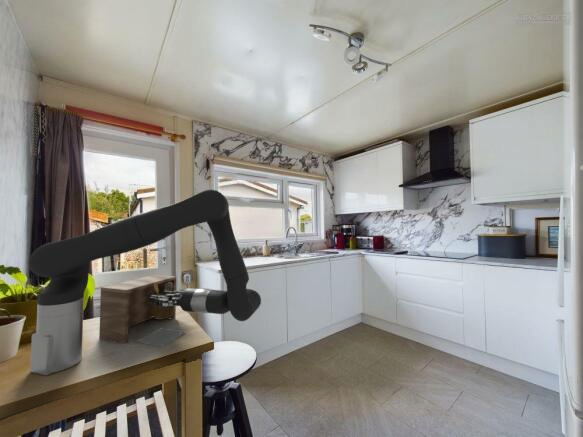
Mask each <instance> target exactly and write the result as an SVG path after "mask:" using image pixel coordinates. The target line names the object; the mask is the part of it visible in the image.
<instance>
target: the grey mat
mask: <svg viewBox="0 0 583 437" xmlns="http://www.w3.org/2000/svg"><path fill="white" fill-rule="evenodd" d="M185 334H186V331H184V330H177V329H171V328H165V327H161V328H159V329H157V330H154V332H151V333H149V334H148V335H145V336H143V337H141V338H140V339H138V340H137V343H141V344H145V345H146V344H147V345H149V346H151V345H152V346H157V347H164V346H166V345H168V344H170V343H171V342H173V341H174V340H176V339H178V338H180V337H181V336H183V335H185Z"/></svg>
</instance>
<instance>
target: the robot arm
mask: <svg viewBox="0 0 583 437" xmlns="http://www.w3.org/2000/svg"><path fill="white" fill-rule="evenodd" d="M229 207H230V204H229V201H228V199H227V198H226V196H225V195H224V194H222V193H221V192H220V191H218V190H216V189H206V190H203V191H202V190H201V191H200V192H198V193H196V194H194V195H192V196H189V197H187V198H185V199H183V200H180V201H178V202H175V203H172V204H170V205H165V206H162V207H158V208H155V209H150V210H147V211H144V212H140V213H138V214H135V215H134V214H133V215H131V216H129V217H126V218H125V217H124V218H123V219H120V220H117V221H115V222H112V223H110V224H107V225H105V226H101V227H100V228H97V229H95V230H92V231H90V232H88V233H84V234H81V235H78V236H74V237H70V238H65V239H62V240H57V241H53V242H48V243H44V244H43V245H40V246H39V247H38V248H36V249H35V250H34V251H33V252H32V253H31V255H30V256H29V258H28V268H29V270H30V271H31V272H32V273H33V274H34V275H37V276H39V277H42V278H50V280H49V283H48V284H47V285H46V286H45V287H44V288H43V289H41V291H40V292H39V293H38V295H37V303H36V304H37V306H36V309H37V310H36V311H37V312H36V331H35V333H32V334H31V344H30V345H31V347H30V349H31V350H30V372H31V373H35V374H39V375H42V376H48V375H51V374H53V373H57V372H61V371H63V370H67V369H69V368H71V367H73V366H75V365H77V364H78V363H80V361H81V360H82V359H83V337H84V336H83V334H84V332H83V330H84V301H85V291H86V290H87V286H88V283H89V274H90V266H91V265H90V264H91V263H90V262H93V261H96V260H99V259H104V258H107V257H112V256H117V255H121V254H124V253H129V252H132V251H135V250H138V249H143V248H144V247H148V246H151V245H153V244H155V243H157V242H159V241H162V240H164V239H166V238H168V237H170V236H172V235H173V234H175V233H176V232H179V231H180V230H183V229H185V228H189V227H191V226H197V225H199V224H203V223H206V224H207V225H208V227H209V229H210V232H211V234H212V237H213V240H214V243H215V249H216V254H217V258H218V263H219V267H220V269H221V272H222V276H223V279H224V282H225V284H226V285H225V286H226V290H221V289H211V288H205V287H187V288H186V289H178V290H176V291H171V292H170V291H164V292H163V294H167V293H168V294H167V295H166V296H157V295H151V296H150V302H151V303H155V306H156V307H160V308H164V309H168V308H169V306H176V307H180V308H181V310H182V311H184V312H189V313H197V314H215V315H224V314H227V313H229V312H230V314H231V316H232V317H233V318H234V319H235V320H236V321H238V322H245V321H247V320H249V319H250V318H251V317H252V316H253V315H254V314H255V313H256V311H257V310H258V309H259V308H260V306H261V304H262V298H261V295H260V293H259V292H257V291H256V290H254V289H250V288H247V285H248V283H249V280H250V277H249V273H248V268H247V266H246V264H245V261H244V258H243V255H242V253H241V251H240V247H239V245H238V242H237V240H236V237H235V234H234V230H233V225H232V222H231V221H232V220H231V215H230V209H229ZM165 292H166V293H165ZM169 293H170V294H169ZM169 297H170V301H169ZM163 298H165V299H163Z"/></svg>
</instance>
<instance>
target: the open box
mask: <svg viewBox="0 0 583 437" xmlns="http://www.w3.org/2000/svg"><path fill="white" fill-rule="evenodd" d="M168 282H170V284H169V283H168ZM153 283H154V284H155V283H157V286H158V289H159V292H158V294H159V295H160V294H163V292H164V291H168V290H169V291H170V290H171V291H177V276H176V275H175V276H172V275H163V274H152V275H149V276H148V275H147V276H143V277H139V278H135V279H132V280H131V279H130V280H127V281H122V282H118V283H113V284H108V285H104V286H100V300H99V301H100V302H99V304H100V306H99V334H98V335H99V336H98V339H99V340H103V341H109V342H114V343H120V344H124V345H125V344H127V343H128V341H129V340H128V339H129V338H128V335H129V328H130V327H133V326H136V325H138V324H140V323H142V322H145V321H147V320H149V319H151V318H154V303H151V302H150V296H151V295H157V292H156V291H155V288H154V284H153ZM166 283H168V284H166ZM172 285H173V286H172ZM157 286H156V287H157ZM166 286H167V287H166ZM168 286H169V287H168ZM171 287H172V288H171ZM165 289H166V290H165ZM176 307H177V306H174V312H173V315H172V316H171V317H169V318H168V319H167V320H173V319H174V320H176V316H177V314H176V310H177V309H176Z"/></svg>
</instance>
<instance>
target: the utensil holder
mask: <svg viewBox="0 0 583 437" xmlns="http://www.w3.org/2000/svg"><path fill="white" fill-rule="evenodd" d="M168 283H169V284H170V282H168ZM168 283H166V284H168ZM153 284H154V283H153ZM156 286H157V283H155V284H154V288H155V291H156V292H157V296H166V295H167V294H168V293H167V294H160V295H159V294H158V292H159V289H158V286H157V287H156ZM172 286H173V285H172ZM166 287H167V286H166ZM168 287H169V286H168ZM171 288H172V287H171ZM165 290H166V289H165ZM168 291H169V290H168ZM170 292H171V290H170ZM165 293H166V292H165ZM169 294H170V293H169ZM163 299H165V298H163ZM169 301H170V297H169ZM173 312H174V306H169V308H168V309H164V308H160V307H156V306H155V303H154V317H153V318H155V319H156V320H164V319H166V318H169V317H171V316H172V315H173Z"/></svg>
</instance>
